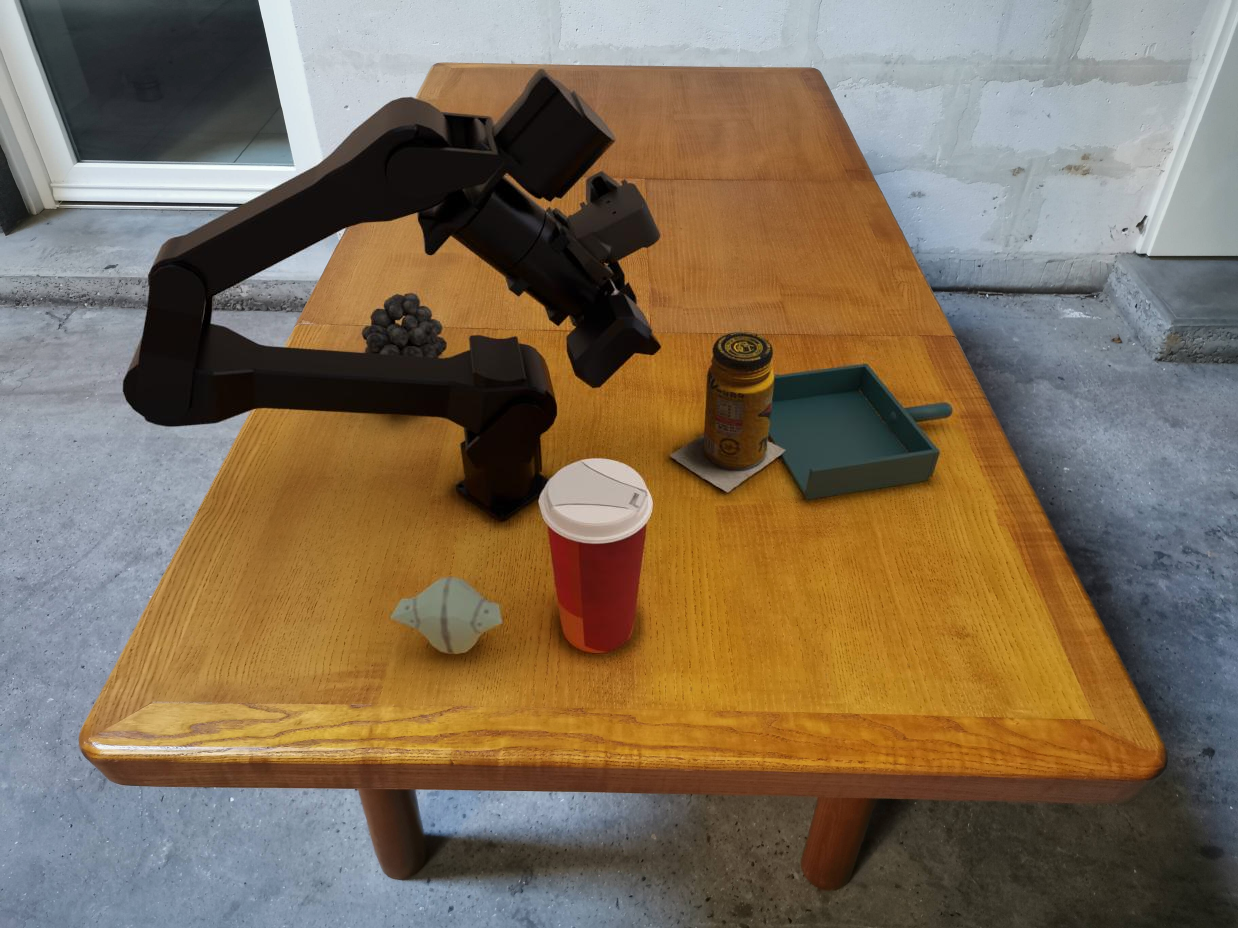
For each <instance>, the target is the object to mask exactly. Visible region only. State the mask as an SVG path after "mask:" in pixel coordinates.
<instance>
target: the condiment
mask: <svg viewBox="0 0 1238 928" xmlns="http://www.w3.org/2000/svg"><path fill="white" fill-rule="evenodd" d="M773 350H774V348H773V345H772V344H771V342H770V341H769V340H768V339H766V337H764V336H761V335H759V334H757V333H753V332H748V331H747V332H746V331H739V332H738V331H737V332H730V333H728V334H724V335H722V336H720V337H718V338H717V339H716V340H715V342H714V343H713V347H712V357H711V359H710V362H711V364H710V366H709V367H708V369H707V374H706V387H705V388H706V389H705V409H704V428H703V429H704V431H703V434H702V435H700V436H698V437H697V438H694V439H693V440H691V441H690V442H689V443H687V444H686V445H684V446H683V447H681V448H679V449H677V450H676V451H674V452H673V453H671V454H670V455H669V456H670V457H671V458H672V459H674V460H675V461H676V462H677V463H679V464H681V465H682V466H683V467H685V468H687V469H688V470H690V471H691V472H692V473H694V474H696V475H698V476H699V477H700V478H701V479H703V480H706V481H708V482H709V483H711V484H712V485H714V486H715V487H717V488H719V489H721V490H723V491H724V492H725V493H729V492H732V490H733V489H734V488H736V487H738V486H739V485H740V484H742V482H744V481H746V480H747V479H748V478H750V477H751V476H753V475H754V474H756V473H758V472H759V471H761V470H762V469H763V468H765V467H766V466H767V465H769V464H770V463H772V462H773V461H774V460H776V459H777V458H779V456H780V455H781V454H782V453H783V452H784V451H785V450H784V449H782V448H781V447H779V446H777V445H775V444H773V443H772V441H770V440H769V436H768V435H769V426H770V415H771V406H772V397H773V387H774V375H775V372H774V369H773V355H774V351H773ZM780 457H781V456H780Z"/></svg>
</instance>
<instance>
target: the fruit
mask: <svg viewBox="0 0 1238 928" xmlns="http://www.w3.org/2000/svg"><path fill="white" fill-rule="evenodd" d="M369 317H370V325H366V326H364V327H363V329H362V330H361V337H362V339H363V340H364V341H365V344H366V347H365V348H364V353H374V354H388V355H402V356H416V357H430V358H440V356H442V354H443V353H444V352H445V351H446V349H447V347H448V343H447V340H445V338H444V337H441V336H439V335H441V334H442V331H443V325H442V323H441V321H439V320H438V319H435V318H432V317H433V312H432V310H431V309H430V307H428V306H426V305H421V299H420V298H419V295H418V294H416V293H413V292H409V293H405V294H404V295H402V294H398V293H395V294H394V295H392V296H390V297H388V298H387V299H385V300H384V303H383V308H376V309H374V310H373V311H372V313H371V314H370V316H369ZM400 320H401V323H398V322H397V321H400Z"/></svg>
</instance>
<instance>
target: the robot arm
mask: <svg viewBox="0 0 1238 928" xmlns="http://www.w3.org/2000/svg"><path fill="white" fill-rule="evenodd" d="M616 141H617V139H616V136H615V134H614V133H613V131H612V130H611V128H609V126H608V125H607V124H606V123H605V122H604V120H603V119H602V118H601V116H600V115H599V114H598V113H597V112H596V111H595V110H594V109H593V108H592V107H591V106H590V105H589V104H588V103H587V101H585V100H584V99H583V97H582V96H581V95H580V94H578V93H577V91H575V90H573V91H571V90H570V89H569V88H567V86H565V84H563V83H562V82H561V81H559V80H557V79H555V78H553V77H552V75H550V74H549V73H548V72H547V70H545V69H544V68H539V69H538V70H537V71H536V72H535V73H534V74H533V76H531V78H530V79H529V80H528V82H527V84H526V85H525V86H524V89H523V91H522V93H521V94H520V95H519V96H518V97H517V99H516V100H515V101H514V102H513V103H512V104H511V105H510V107H509V108H508V109H507V110H506V111H505V112H504V113H503V115H502V116H501V117H500V118H499V119H498V120H497V122H496V123H495V120H494V119H493V118H492V117H491V116H489V115H480V114H479V115H478V114H466V113H457V112H447V111H446V112H445V111H441V110H440V109H438V108H437V107H436V106H434V105H433V104H431V103H430V102H427V101H424V100H420V99H417V98H415V97H414V96H404V97H399V98H396V99H393V100H391V101H389V102H387V103H385V104H384V105H383V106H382V107H380V108H379V109H378V110H377V111H375V113H373V114H372V115H370V116H369V117H367V119H366V120H364V121H363V122H362V123H361V124H360V125H358V126H357V127H356V128H355V129H353V130H352V131H351V133H349V135H348V136H347V137H345V138H344V140H343V141H342V142H341V143H340V144H339V145H338V146H337V147H336V148H335V149H334V150H333V151H332V152H331V153H330V154H329V155H328V156H326V157H325V158H324V159H322V161H320V162H319V163H318V164H316V165H314V166H313V167H311V168H309V169H307V170H304V171H303V172H302V173H299V174H297V175H295V176H294V177H292V178H289V179H288V180H286V181H284V182H282V183H281V184H279V185H277V186H275V187H273V188H271V189H269V190H267V191H266V192H263V193H262V194H260V195H258V196H256V197H254V198H252V199H250V200H249V201H247V202H244V203H243V204H241V205H239V206H237V207H235V208H233V209H232V210H229V211H227V212H225V213H224V214H222V215H220V216H218V217H216V218H214V219H212V220H211V221H209V222H207V223H205V224H203V225H201V226H199V227H197V228H195V229H194V230H192V231H190V232H188V233H186V234H184V235H179V236H173V237H171V238H169V239H167V240H166V241H165V242H164V243H163V244H162V245H161V246H160V248H159V250H158V253H157V254H156V257H155V259H154V261H153V263H152V265H151V268H150V270H149V271H148V274H147V285H148V295H147V296H148V297H147V306H146V312H145V317H144V318H145V319H144V324H143V329H142V335H141V337H140V340H139V343H138V345H137V347H136V350H135V352H134V353H133V357H132V359H131V361H130V363H129V366H128V368H127V371H126V373H125V375H124V378H123V380H122V393H123V395H124V399H125V401H126V402H127V404H128V405H129V406H130V407H131V409H132V410H133V411H135V413H137V414H139V415H140V416H142V417H143V418H144V420H145V421H146V422H147V423H150V424H152V425H156V426H159V427H160V426H161V427H165V428H177V427H178V428H179V427H188V426H189V427H191V426H202V425H211V424H212V425H214V424H218V423H221V422H224V421H227V420H229V419H232V418H234V417H238V416H240V415H243V414H245V413H248V412H251V411H253V410H258V409H272V410H290V411H308V412H309V411H310V412H311V411H312V412H330V413H347V414H348V413H349V414H365V415H384V416H385V415H387V416H405V417H423V418H424V417H426V418H439V419H445V420H447V421H450V422H452V423H454V424H456V425H457V426H460V427H461V428H463V433H464V440H463V441H461V442H459V443H460V444H459V447H460V455H461V462H462V468H463V469H462V470H463V477H464V479H463V480H461V481H459V482H457V483H456V484H455V486H454V487H455V492H456V493H458V494H459V495H460V496H462V497H463V498H465V499H466V500H468V501H469V502H470V503H472V504H474V505H475V506H477V507H478V508H479V509H481V510H482V511H484V512H485V513H487V514H488V515H490V516H491V517H493V518H494V519H496V520H497V521H499V522H504V521H507V520H509V519H510V518H511V517H513V516H514V515H516V514H517V513H519V512H520V511H522V510H524V508H526V507H527V506H529V505H530V504H531V503H533V502H534V501H536V500H538V499H539V498H540V495H541V493H542V491H543V489H544V488H545V486H546V484H547V482H548V481H549V480H550V478H547V477H546V476H544V475H542V474H541V473H542V472H543V459H542V441H541V440H542V439H541V437H542V436H543V434H545V433H546V432H548V431H549V430H550V429H551V428H552V427H553V425H554V424H555V422H556V418H557V416H558V404H557V400H556V396H555V391H554V387H553V383H552V378H551V374H550V370H549V366H548V364H547V361H546V359H545V357H544V356H543V355H542V354H541V353H540V352H539V351H538V349H537V348H536V347H534V346H532V345H529V344H525V343H523V342H520V341H519V337H518V336H516V335H514V336H509V337H506V338H505V337H504V338H495V337H489V336H486V335H481V334H473V335H469V337H468V342H469V349H468V350H465V351H463V352H460V353H458V354H454V355H452V356H449V357H439V358H430V357H416V356H402V355H388V354H374V353H365V352H358V351H344V350H329V349H316V348H301V347H290V346H289V347H286V346H274V345H272V346H271V345H264V344H260V343H257V342H256V341H254V340H251V339H249V338H247V337H246V336H244V335H242V334H240V333H238V332H236V331H234V330H232V329H230V328H229V327H226V326H224V325H220V324H216V323H215V324H214V323H212V319H213V318H212V317H213V312H214V311H213V310H214V297H215V296H217V295H219V294H221V293H222V292H224V291H227V290H229V289H230V288H232V287H234V286H236V285H239V284H240V283H242V282H244V281H246V280H248V279H250V278H252V277H254V276H255V275H257V274H260V273H262V272H263V271H266V270H267V269H269V268H271V267H273V266H275V265H277V264H279V263H281V262H283V261H285V260H287V259H289V258H290V257H292V256H294V255H296V254H298V253H300V252H302V251H304V250H306V249H308V248H310V247H312V246H313V245H315V244H317V243H319V242H321V241H323V240H325V239H327V238H329V237H331V236H333V235H335V234H337V233H339V232H340V231H342V230H345V229H347V228H350V227H353V226H357V225H361V224H367V223H368V224H369V223H384V222H385V223H386V222H392V221H395V220H398V219H402V218H405V217H408V216H411V215H415V214H416V216H417V222H418V224H419V226H420V228H421V232H422V238H423V248H424V253H425V255H427V256H433V255H435V254H436V253H437V252H438V251H439V250H440V249H441V247H443V245H444V244H445V243H446V242H447V241H448V239H449V238H450V237H452V238H453V239H454V240H455V241H457V242H458V243H460V244H461V245H462V246H463V247H465V249H468V250H469V251H470V252H471V253H473V254H474V255H476V257H478V258H479V259H481V260H482V261H483V262H485V264H487V265H489V266H490V267H491V268H492V269H494V270H495V271H496V272H498V273H499V274H500V275H502V276H503V277H504V278H505V281H506V285H507V289H508V290H509V291H510V292H511V293H513V294H514V295H515V296H516V297H519V298H520V296H521V295H522V294H523V293H525V294H526V295H528V296H529V297H531V298H532V299H533V300H535V301H536V302H537V303H538V304H540V305H541V306H543V307H544V309H545V313H546V316H547V318H548V320H549V321H550V322H551V323H553V324H554V325H555V326H556V327H559V326H560V325H562V324H563V323H564V321H565V320H566V319H568V317H569V320H570V322H571V324H572V325H571V326H573V327H574V328H573V329H572V331H570V332H569V333H568V334H567V335H566V337H565V342H566V354H567V356H568V359H569V363H570V365H571V368H572V371H573V373H574V376H575V378H578V379H579V380H580V381H582V382H583V383H585V384H586V385H588V386H589V387H590V388H592V389H599V388H601V387H602V386H603V385H604V384H605V383H606V382H607V381H608V380H609V379H610V378H611V377H612V376H614V374H615V373H617V371H619V370H620V369H621V368H622V367H623V366H624V365H625V364H626V363H627V361H629V360H630V359H631V358H632V357H633V356H634V355H635V354H637V355H638V354H639V355H646V356H654V355H655V354H657V353H658V352H659V351H660V350H661V349H662V345H661V342H660V341H659V340H658V338H657V337H656V336H655V334H654V333H653V329H652V327H651V325H650V323H649V320H648V319H647V317H646V315H645V313H644V312H643V311H642V309H641V308H640V307H639V306H638V299H637V295H636V294H635V292H634V290H633V288H632V286H631V284H630V282H627V283H626V274H625V272H624V270H623V268H622V267H621V264H620V262H619V261H621V260H622V259H624V258H626V257H628V256H630V255H632V254H634V253H636V252H638V251H639V250H641V249H644V248H645V249H648V248H650V247H652V246H654V245H655V244H657V242H658V241H659V240H660V238H661V233H660V231H659V228H658V226H657V224H656V222H655V219H654V217H653V215H652V212H651V210H650V208H649V205H648V204H647V202H646V200H645V198H644V196H643V195H642V193H641V192H640V190H639V188H638V187H637V185H636V184H635V183H633V182H628V181H627V179H626V178H625V179H622V180H621V181H620V183H621V185H620V184H619V182H618V181H617V180H615V179H614V178H613V177H611V176H609V175H608V174H607V173H605V172H604V171H603V170H601V171H598V172H597V173H595V174H593V175H591V176H589V177H588V178H586V179H585V201H582V202H580V203H579V206H580V209H579V210H578V211H576V212H574V213H573V214H569V215H566V214H565V213H564V212H563V211H561V210H560V209H559V208H557V207H555V208H554V209H553V208H552V207H550V206H548V207H547V208H546V209H544V208H543V207H542V206H541V205H539V204H538V203H537V202H536V201H534V199H533V198H535V199H538V200H542V199H545V200H546V201H547V202H549V203H552V202H553V200H554V199H555V198H556V199H563V198H564V197H565V196H566V194H567V193H568V192H569V191H570V190H571V189H572V188H573V187H574V186H575V185H576V184H577V183H578V182H579V181H580V179H582V178H583V176H585V174H586V173H587V172H588V171H589V170H590V169H591V168H592V167H593V166H594V165H595V163H596V162H598V160H599V159H601V157H602V156H603V155H605V153H606V152H607V151H608V150H609V149H610V148H611V146H613V144H614V143H615V142H616ZM506 174H507V175H509V176H510V178H512V179H513V180H514V181H515V182H516V183H517V185H519V186H520V187H521V188H522V189H523V190H525V192H527V193H528V194H529V195H531V196H532V197H533V198H531V197H530V196H529V195H528V194H527V193H525V192H524V191H523V190H522V189H521V188H519V187H518V186H517V185H516V184H514V182H512V181H511V180H510V179H509V178H508V177H506V176H505V175H506Z"/></svg>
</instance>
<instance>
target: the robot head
mask: <svg viewBox="0 0 1238 928" xmlns="http://www.w3.org/2000/svg"><path fill="white" fill-rule="evenodd" d="M500 610H501V609H500V605H499V603H497V602H493V601H490V600H487V599H486V598H485V597H483V595H481V593H479V592H478V591H477V590H476V589H475V588H474V587H472V586H471V584H469V583H468V582H467V581H466V580H465V579H463V578H460V577H453V576H447V577H441V578H439V579H437V580H436V581H434V582H433V583H432V584H430V585H429V586H427V588H425V589H424V590H422V591H421V592H420V593H419V594H417V595H416V596H412V597H406V598H401V599H400V600H399V602H398V604H397V605H396V607H395V609H394V610H393V612H392V614H391V616H390V619H392V620H393V621H397V622H399V623H402V624H403V625H406V626H408V627H411V628H413V629H415V630H416V631H417V632H419V633H421V635H423V636H424V638H426V639H427V641H428V642H429V643H430V644H431V646H432V647H433V648H434V649H436V650H438V651H439V652H440V653H445V654H451V655H458V654H464V653H465V654H466V653H467V652H469V651H470V650H471V649H472V648H473V647H474V646H475V645H476V644H477V642H478V640H479V637H481V636H482V635H483V634H485V632H487V631H489V630H491V629H493V628H496V627H498V626H499V625H502V624H503V620H502V615H501V611H500Z"/></svg>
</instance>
